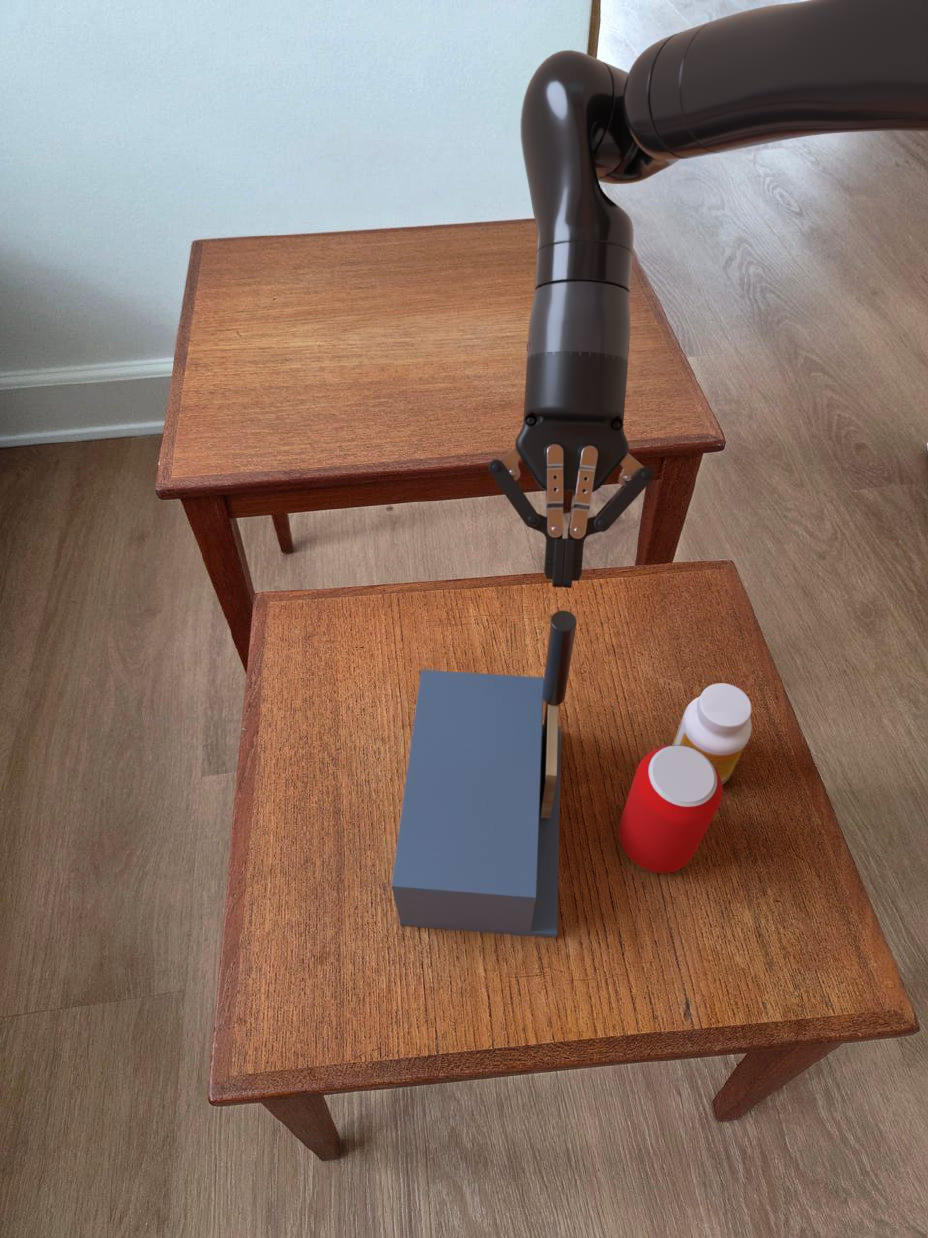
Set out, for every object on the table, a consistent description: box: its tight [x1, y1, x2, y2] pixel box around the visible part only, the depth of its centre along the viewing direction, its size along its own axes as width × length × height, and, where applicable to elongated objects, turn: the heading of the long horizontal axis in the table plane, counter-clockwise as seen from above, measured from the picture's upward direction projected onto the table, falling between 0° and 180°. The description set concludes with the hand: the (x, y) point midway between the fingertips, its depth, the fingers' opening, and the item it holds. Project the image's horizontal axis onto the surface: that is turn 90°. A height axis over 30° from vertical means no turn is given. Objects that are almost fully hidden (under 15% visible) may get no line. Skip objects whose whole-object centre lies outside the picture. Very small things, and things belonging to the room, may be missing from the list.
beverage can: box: [618, 744, 723, 874], centre depth 65 cm, size 6×6×12 cm
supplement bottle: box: [671, 682, 753, 785], centre depth 70 cm, size 5×5×10 cm
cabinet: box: [390, 669, 562, 939], centre depth 67 cm, size 12×18×9 cm, turn 175°
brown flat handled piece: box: [540, 610, 578, 818], centre depth 65 cm, size 2×8×18 cm, turn 175°
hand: (562, 586), depth 66 cm, fingers closed
